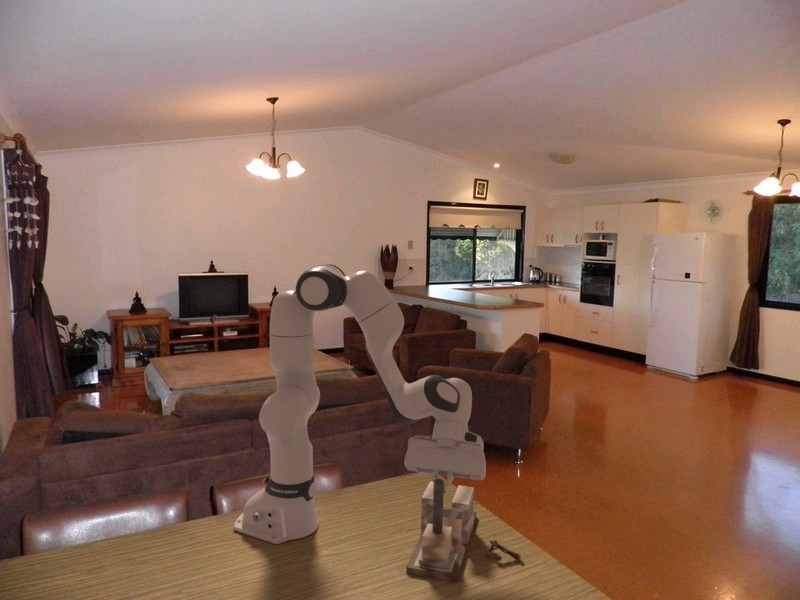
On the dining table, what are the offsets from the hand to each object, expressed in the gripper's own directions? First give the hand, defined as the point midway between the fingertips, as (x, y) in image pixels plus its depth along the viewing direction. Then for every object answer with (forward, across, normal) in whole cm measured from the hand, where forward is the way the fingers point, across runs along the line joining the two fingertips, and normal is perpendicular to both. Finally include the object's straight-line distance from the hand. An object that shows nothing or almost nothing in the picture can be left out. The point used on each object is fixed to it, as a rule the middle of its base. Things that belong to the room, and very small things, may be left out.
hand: (440, 491), depth 134 cm
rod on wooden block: (+13, 0, +9) cm, 16 cm away
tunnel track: (+7, 0, +18) cm, 19 cm away
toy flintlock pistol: (+9, +16, +16) cm, 24 cm away
